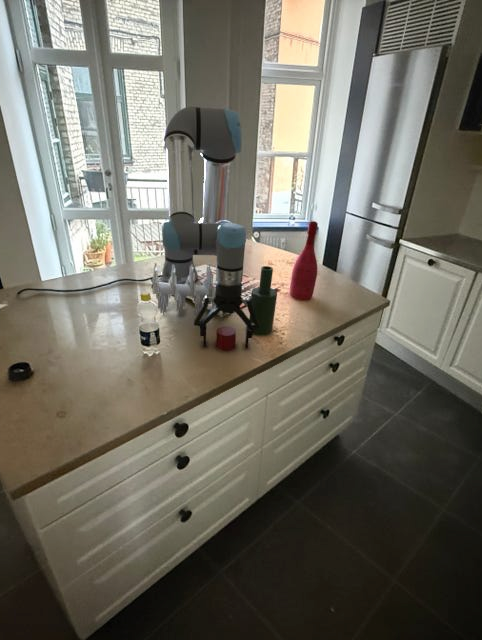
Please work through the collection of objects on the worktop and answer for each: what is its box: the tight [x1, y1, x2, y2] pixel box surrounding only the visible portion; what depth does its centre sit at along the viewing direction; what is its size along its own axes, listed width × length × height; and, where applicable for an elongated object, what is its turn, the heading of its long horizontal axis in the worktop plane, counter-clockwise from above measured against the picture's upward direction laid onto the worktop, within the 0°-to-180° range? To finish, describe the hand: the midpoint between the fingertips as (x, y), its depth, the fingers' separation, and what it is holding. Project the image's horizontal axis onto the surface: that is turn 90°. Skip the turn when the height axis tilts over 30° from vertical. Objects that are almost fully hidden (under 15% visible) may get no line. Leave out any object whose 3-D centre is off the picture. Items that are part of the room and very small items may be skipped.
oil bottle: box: [248, 265, 278, 336], centre depth 121 cm, size 8×8×22 cm
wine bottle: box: [289, 220, 318, 301], centre depth 144 cm, size 10×10×30 cm
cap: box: [215, 325, 237, 352], centre depth 116 cm, size 6×6×6 cm
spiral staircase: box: [152, 262, 217, 318], centre depth 129 cm, size 18×18×25 cm
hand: (225, 345), depth 117 cm, fingers open, 12 cm apart
